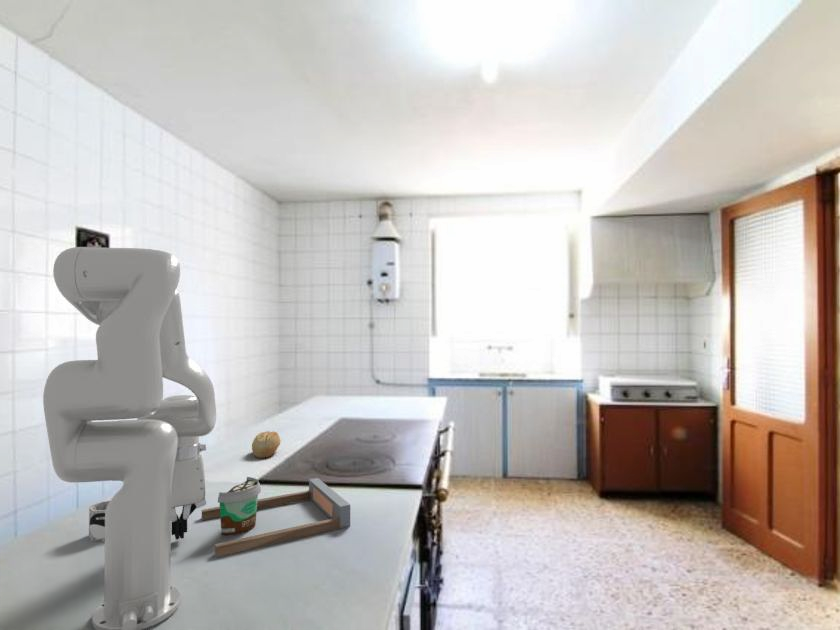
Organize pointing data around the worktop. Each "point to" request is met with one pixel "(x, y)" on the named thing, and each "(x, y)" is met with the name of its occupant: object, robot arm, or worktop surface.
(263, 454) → the bread roll
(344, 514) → the end stop
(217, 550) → the guide track
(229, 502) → the food container
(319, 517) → the worktop surface
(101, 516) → the mug
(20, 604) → the worktop surface
